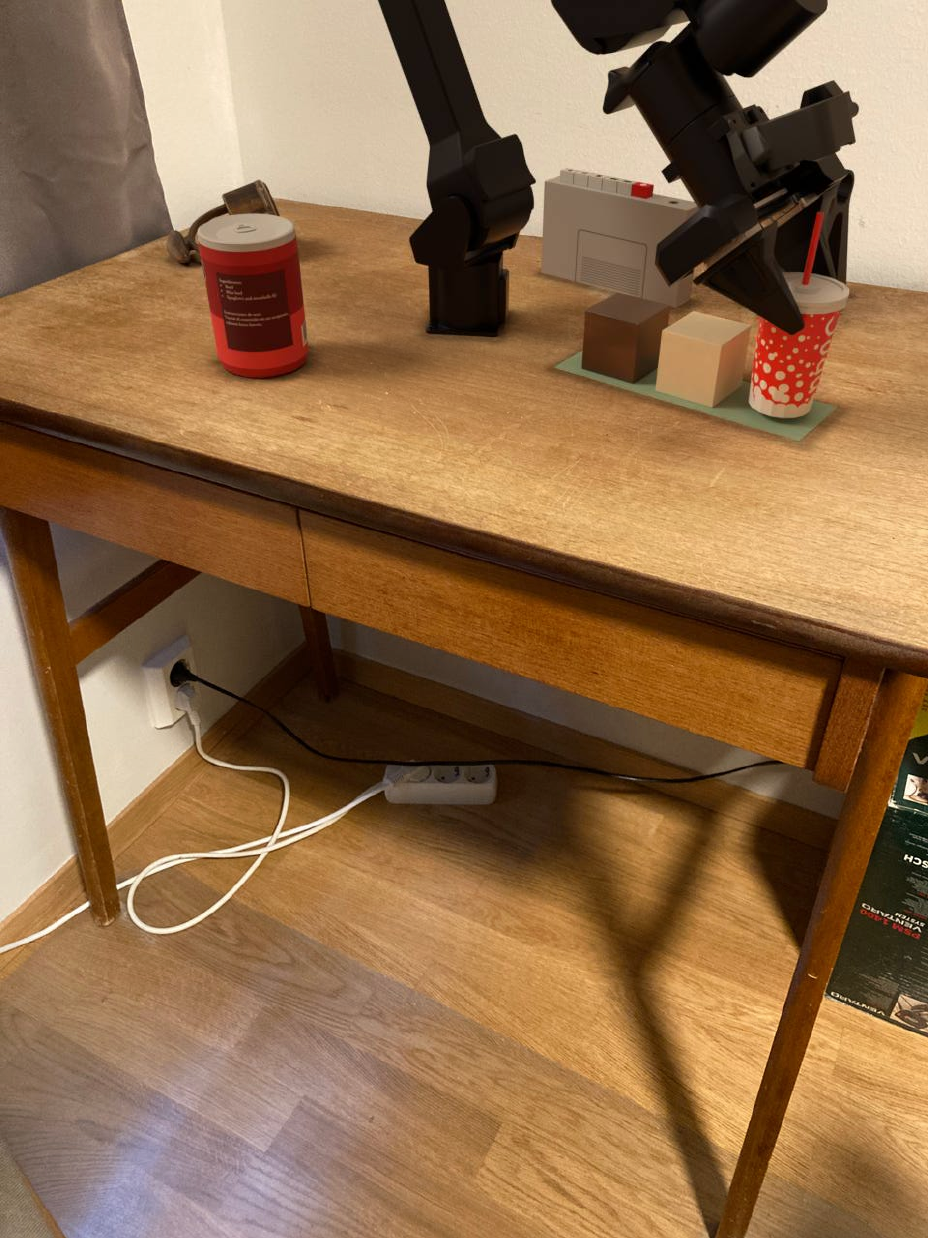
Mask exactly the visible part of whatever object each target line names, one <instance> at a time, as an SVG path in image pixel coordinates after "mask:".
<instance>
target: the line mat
mask: <svg viewBox="0 0 928 1238" xmlns="http://www.w3.org/2000/svg"><path fill="white" fill-rule="evenodd" d="M581 364H582V350H581V351H580V350H579V352H577V353H576V354H573V355H572V356H570V357H568V358H566V359H565V360H563V361H561V362H560V363H558V364H557V365H555V366H553V368H554V369H556V370H557V369H558V370H561V371H564V372H567V373H571V374H575V375H578V376H581V377H583V378H587V379H591V380H594V381H598V382H600V383H604V384H608V385H610V386H613V387H617V388H620V389H623V390H626V391H631V392H634V393H637V394H640V395H643V396H646V397H650V398H654V399H657V400H660V401H663V402H667V403H670V404H673V405H677V406H680V407H683V408H687V409H690V410H693V411H696V412H699V413H702V414H706V415H710V416H713V417H716V418H720V419H723V420H727V421H730V422H733V423H736V424H740V425H743V426H746V427H748V428H749V427H750V428H753V429H756V430H760V431H761V432H766V433H769V434H772V435H776V436H780V437H781V438H786V439H789V440H792V441H796V442H799V443H800V442H802V440H804V439H805V438H806V437H807V436H808V435H809V434H810V433H812V431H813V430H814V429H815V428H817V427H818V425H820V424H821V423H822V422H823V421H824V420H825V419H827V418H828V417H829V416H830V415H831V414H832V413H833V412H834V411H836V409H838V406H836V405H831V404H829V403H824V402H821V401H817V400H814V399H813V403H812V406H811V409H810V411H809V412H808V413H807V414H805V415H803V416H799V417H795V418H780V417H773V416H769V415H766V414H763V413H760V412H758V411H757V410H755V409H753V408H752V407H751V405H750V404H749V395H750V387H751V381H750V382H749V381H745V380H742V385H741V386H740V387H739V388H738V389H736V390H735V391H734V392H732V393H731V394H730V395H728V396H727V397H726V398H725V399H723V400H722V401H721V402H719V403H718V404H717V405H715V406H714V407H713V408H711V407H708V406H704V405H701V404H698V403H694V402H691V401H688V400H684V399H681V398H678V397H674V396H671V395H667V394H664V393H661V392H657V391H655V390H656V381H657V373H658V368H657V369H655V370H654V371H652V372H651V373H649V374H648V375H646V376H645V377H643V378H641V379H640V380H638V381H637V382H635V383H634V384H631V383H628V382H625V381H621V380H618V379H614V378H611V377H608V376H604V375H601V374H598V373H594V372H591V371H588V370H584V369H581Z"/></svg>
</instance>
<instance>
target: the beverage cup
mask: <svg viewBox="0 0 928 1238" xmlns="http://www.w3.org/2000/svg"><path fill="white" fill-rule="evenodd" d="M823 216H824V212H817V215H816V219H815V224H814V229H813V234H812V238H811V243H810V248H809V252H808V257H807V262H806V267H805V271H804V273H803V272H783V276H784V278H785V280H786V282H787V284H788V286H789V288H790V290H791V293H792V295H793V297H794V299H795V301H796V303H797V305H798V308H799V310H800V313H801V315H802V318H803V321H804V323H805V327H804V329H802V330H801V331H799V332H798V333H796V334H794V335H790V334H788V333H786V332H785V331H783V330H781V329H780V328H778V327H776V326H775V325H773V324H772V323H770V322H768V321H767V320H765V319H763V318H762V317H760V316H759V315H758V325H757V331H756V332H757V333H756V340H755V348H754V356H753V365H752V372H751V380H750V383H751V387H750V395H749V404H750V405H751V407H752V408H753V409H755V410H757V411H758V412H760V413H763V414H766V415H769V416H773V417H780V418H795V417H799V416H803V415H805V414H807V413H808V412H809V411H810V409H811V406H812V403H813V400H814V399H815V395H816V393H817V390H818V386H819V382H820V379H821V376H822V373H823V370H824V366H825V363H826V360H827V357H828V353H829V350H830V347H831V343H832V340H833V337H834V334H835V331H836V327H837V324H838V322H839V317H840V314H841V312H842V311H841V310H842V309H844V308H846V305H847V301H848V300H849V298H850V297H849V296H850V288H849V287H848V286H847V284H846V285H845V284H844V283H842V282H840V281H838V280H835V279H833V278H830V277H826V276H822V275H818V274H812V273H811V272H812V267H813V262H814V258H815V253H816V248H817V244H818V239H819V235H820V230H821V225H822V221H823Z"/></svg>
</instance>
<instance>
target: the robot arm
mask: <svg viewBox="0 0 928 1238" xmlns="http://www.w3.org/2000/svg"><path fill="white" fill-rule="evenodd" d="M377 2H378V5H379V8H380V11H381V13H382V16H383V19H384V22H385V24H386V27H387V31H388V33H389V37H390V38H391V41H392V44H393V47H394V50H395V53H396V55H397V57H398V60H399V64H400V66H401V69H402V72H403V74H404V77H405V80H406V82H407V86H408V89H409V91H410V93H411V96H412V99H413V102H414V105H415V108H416V111H417V114H418V117H419V119H420V122H421V125H422V127H423V131H424V133H425V135H426V139H427V142H428V145H429V153H428V162H427V174H426V185H425V186H426V190H427V195H428V199H429V203H430V207H431V212H430V213H429V214H428V216H426V217H425V219H424V220H423V221H422V222H421V223H420V225H419V226H417V228H416V229H415V230H414V231H413V232H412V234H411V235H410V236H409V238H408V242H409V246H410V249H411V252H412V256H413V260H414V262H415V263H416V264H417V265H418V264H419V265H422V266H425V267H427V270H428V271H427V273H428V299H429V300H428V308H429V309H428V310H429V320H428V322H427V324H426V327H425V333H426V334H428V335H439V336H458V337H459V336H460V337H461V336H462V337H483V338H484V337H485V338H486V337H487V338H497V337H498V336H499V334H500V330H501V327H502V326H503V325H505V324H506V322H507V320H508V315H509V311H510V310H509V309H510V307H509V305H510V270H509V269H508V268H504V252H506V251H507V250H512V249H515V248H516V246H517V243H518V240H519V236H520V234H521V231H522V230H523V229H524V228H525V227H526V226H527V224H528V222H530V217H531V214H532V211H533V210H534V209H535V196H534V191H533V188H532V185H535V184H537V179H536V178H535V177H534V175H533V174H532V173H531V171H530V169H529V167H528V164H527V161H526V157H525V152H524V146H523V142H522V141H521V139H520V137H519V135H518V134H516V133H513V134H509V135H507V136H503V137H501V135H500V134H499V133H497V132H498V131H496V130H495V129H494V128H493V127H492V126H491V125H490V124H489V123H488V121H487V119H486V117H485V114H484V112H483V108H482V105H481V103H480V99H479V96H478V94H477V91H476V88H475V85H474V82H473V79H472V76H471V73H470V71H469V68H468V65H467V62H466V58H465V56H464V53H463V49H462V47H461V44H460V41H459V39H458V38H459V37H458V35H457V32H456V29H455V26H454V23H453V20H452V18H451V14H450V12H449V9H448V5H447V3H446V0H377ZM550 4H551V6H552V8H553V9H554V11H555V12H556V14H557V15H558V16H559V18H560V19H561V21H562V22H563V24H564V25H565V27H566V28H567V29H568V32H570V34H571V35H572V37H573V38H574V39H575V41H576V42H577V44H579V46H580V47H581V48H583V49H584V51H587V53H590V54H593V55H596V56H599V55H602V56H604V55H610V54H615V53H619V52H622V51H626V50H627V51H628V50H630V49H634V48H638V47H642V46H647V45H649V47H647V48H646V50H645V51H643V53H642V54H641V55H640V56H639V57H638V58H637V59H636V60H635V61H634V62H633V63H632V64H631V65H630V66H620V67H617V68H613V69H610V70H609V71H608V72H607V88H606V90H605V91H606V92H605V94H604V99H603V104H602V112H603V113H604V114H605V115H611V114H614V113H617V112H618V113H619V112H621V111H623V110H626V109H630V108H632V107H636V109H637V111H638V112H639V114H640V115H641V117H642V118H643V120H644V122H645V123H646V125H647V127H648V128H649V131H650V132H651V133H652V135H653V137H654V138H655V140H656V141H657V143H658V145H659V146H660V148H661V150H662V151H663V153H664V154H665V156H666V158H667V160H668V161H669V163H668V165H666V166H665V167H664V168H663V169H662V170H661V171H660V172H661V174H662V175H663V177H664V178H665V180H666V182H667V183H668V184H671V183H674V182H676V181H678V180H681V182H682V184H683V186H684V187H685V189H686V191H687V192H688V194H689V195H690V197H691V199H692V200H693V202H695V203H696V205H697V207H698V208H699V210H698V211H697V212H696V213H695V214H694V215H692V216H691V217H690V218H689V219H687V220H686V221H685V222H684V223H683V224H681V225H680V226H679V227H678V228H676V229H675V230H674V231H673V232H672V233H670V234H669V235H668V236H667V237H665V238H664V239H663V240H662V241H661V242H659V243H658V244H657V248H656V257H655V265H656V267H657V269H658V270H659V272H660V273H661V275H662V277H663V278H664V280H665V281H666V283H667V285H668V286H669V287H671V286H672V285H674V284H676V283H678V282H679V281H681V280H683V279H685V278H686V277H688V276H689V275H691V274H692V273H693V272H694V273H695V269H696V268H697V267H698V266H700V265H702V264H703V265H704V267H705V268H706V269H705V270H704V271H703V272H701V273H700V274H699V275H697V276H696V277H694V278H693V283H694V284H695V286H700V285H703V286H705V287H707V288H708V289H710V290H713V291H714V292H716V293H718V294H720V295H722V296H723V297H726V298H727V299H730V300H731V301H733V302H734V303H736V304H738V305H740V306H742V307H744V308H745V309H747V310H749V311H750V312H752V313H754V314H756V315H757V316H758V317H759V316H760V317H762V318H763V319H765V320H767V321H768V322H770V323H772V324H773V325H775V326H776V327H778V328H780V329H781V330H783V331H785V332H786V333H788V334H790V335H794V334H796V333H798V332H799V331H801V330H802V329H804V327H805V323H804V321H803V318H802V315H801V313H800V310H799V308H798V305H797V303H796V301H795V299H794V297H793V295H792V293H791V290H790V288H789V286H788V284H787V282H786V280H785V278H784V276H783V273H782V271H781V269H780V267H781V268H782V269H783V270H784V271H785V272H803V273H804V271H805V267H806V262H807V257H808V252H809V248H810V243H811V238H812V234H813V229H814V224H815V219H816V215H817V212H824V216H823V221H822V225H821V230H820V235H819V239H818V244H817V248H816V253H815V258H814V262H813V267H812V272H811V273H812V274H818V275H822V276H826V277H830V278H833V279H835V280H837V279H836V274H835V270H834V266H833V262H832V258H831V254H830V249H829V245H828V239H827V234H826V228H825V221H826V217H827V214H828V211H829V208H830V204H831V201H832V199H833V198H834V197H835V196H836V188H834V189H832V190H830V191H829V192H827V193H825V194H823V195H822V196H820V195H821V194H822V193H824V192H825V191H826V190H828V189H829V188H831V187H832V186H833V185H835V184H836V183H837V182H839V181H840V180H841V179H843V178H844V177H845V176H846V175H848V173H847V171H846V170H845V169H846V168H845V166H844V164H843V163H842V162H841V160H840V158H839V156H838V155H837V153H838V152H840V151H841V149H842V147H845V146H851V145H854V144H856V142H857V140H856V134H855V128H854V124H853V123H854V122H853V118H855V117H856V116H858V114H859V112H860V106H859V104H858V103H857V102H856V101H853V99H852V97H851V91H850V90H847V91H843V89H842V88H841V87H840V86H839V84H838V83H837V82H836V80H835V79H833V80H830V81H827V82H824V83H821V84H819V85H817V86H814V87H810V88H809V89H806V90H804V91H803V94H802V96H801V101H800V106H799V108H797V109H794V110H791V111H790V112H789V111H788V112H786V113H784V114H782V115H781V114H780V115H779V116H776V117H773V118H771V119H770V118H769V116H768V115H767V113H766V111H765V109H764V108H763V107H762V106H760V105H756V104H755V103H754V104H751V105H748V106H746V107H743V106H742V104H741V102H740V100H739V99H738V97H737V96H736V94H735V92H734V91H733V88H732V87H731V86H730V84H729V82H728V80H727V79H726V77H732V76H733V75H734V74H735V75H737V76H739V77H742V78H747V79H751V78H753V77H755V76H756V75H757V74H758V73H759V72H761V71H762V70H763V69H764V68H765V67H766V66H767V65H768V64H769V63H770V62H772V60H774V59H775V58H776V57H777V56H778V55H779V54H780V53H782V52H783V51H784V50H785V49H786V48H787V47H788V46H789V45H791V43H793V42H794V41H795V40H796V39H797V38H798V37H799V36H800V35H801V34H803V32H805V31H806V30H807V29H808V28H809V27H810V26H811V25H812V24H814V22H816V21H817V20H818V19H819V18H820V17H821V16H822V15H824V13H826V11H827V10H828V6H829V0H550ZM688 22H689V23H688ZM683 23H687V24H686V25H685V26H684V28H683V29H682V30H681V31H679V33H678V34H677V35H676V36H674V38H673V39H672V40H670V41H666V40H660V39H661V38H664V36H665V35H666V33H667V32H668V31H669V30H670V29H671V28H672V26H675V25H680V24H683ZM818 196H820V197H819V198H818ZM779 266H780V267H779Z"/></svg>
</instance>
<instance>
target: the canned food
mask: <svg viewBox="0 0 928 1238" xmlns="http://www.w3.org/2000/svg"><path fill="white" fill-rule="evenodd" d="M297 239H298V238H297V232H296V226H295V224H294V223H293V221H291V220H290V219H288V218H285V217H282V216H281V215H280V216H275V215H269V214H237V215H229V214H228V215H223V216H219V217H216V218H214V219H211V220H210V221H208V222H207V223H205V224H203V225H202V226H200V227H199V229H198V232H197V242H198V244H199V248H200V254H199V256H200V261H201V268H202V272H203V278H204V284H205V289H206V290H205V291H206V295H207V301H208V308H209V313H210V319H211V325H212V331H213V336H214V343H215V348H216V354H217V358H218V359H219V361H220V363H221V365H222V367H223V368H224V369H225V370H226V371H228V372H229V373H232V374H233V375H237V376H241V377H245V378H256V379H257V378H272V377H273V378H274V377H278V376H282V375H287V374H289V373H291V372H294V371H295V370H297V369H299V368H300V367H302V366H303V365H304V364H305V362H306V361H307V356H308V352H309V340H308V333H307V322H306V313H305V302H304V292H303V284H302V282H303V281H302V273H301V265H300V254H299V246H298V240H297Z"/></svg>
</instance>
